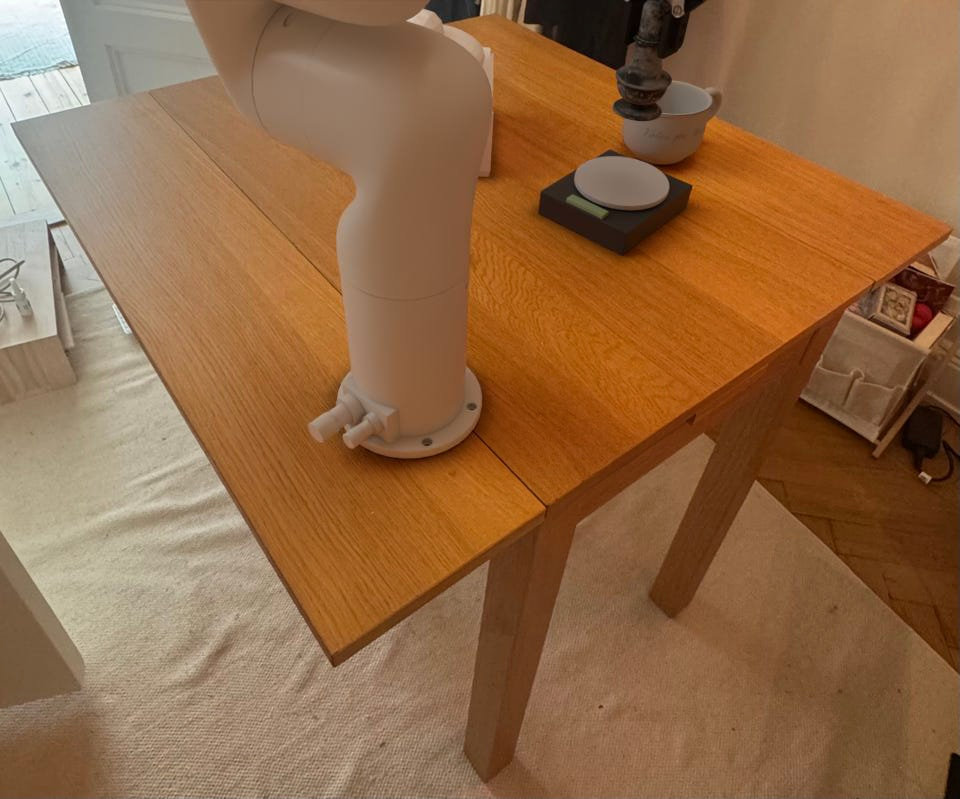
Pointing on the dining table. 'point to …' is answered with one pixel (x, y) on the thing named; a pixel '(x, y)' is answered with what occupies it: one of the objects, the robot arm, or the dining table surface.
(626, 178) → the scale
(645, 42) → the dark grey finial
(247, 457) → the dining table surface
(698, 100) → the teacup
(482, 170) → the butter dish
